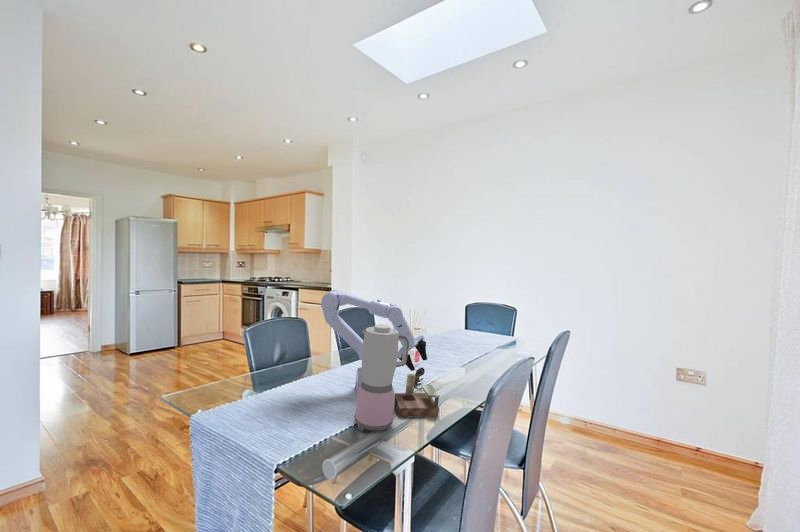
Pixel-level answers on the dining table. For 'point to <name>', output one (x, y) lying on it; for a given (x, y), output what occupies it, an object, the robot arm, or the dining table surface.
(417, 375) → the eagle figurine
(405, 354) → the blender
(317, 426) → the dining table surface
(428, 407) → the socket deck
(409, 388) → the peg
